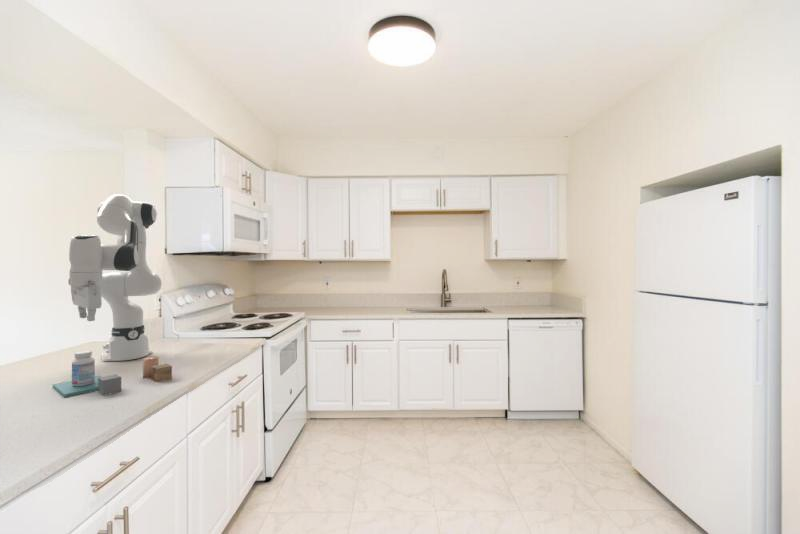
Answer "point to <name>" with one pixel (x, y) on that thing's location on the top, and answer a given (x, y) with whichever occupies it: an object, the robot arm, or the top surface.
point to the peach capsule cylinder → (149, 365)
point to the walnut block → (161, 372)
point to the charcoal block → (109, 384)
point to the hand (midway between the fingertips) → (86, 319)
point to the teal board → (75, 388)
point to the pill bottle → (83, 369)
